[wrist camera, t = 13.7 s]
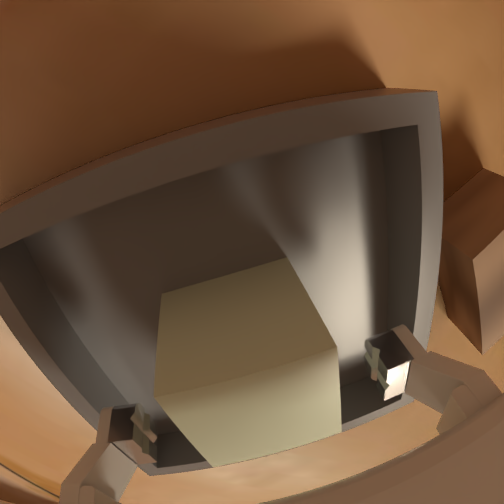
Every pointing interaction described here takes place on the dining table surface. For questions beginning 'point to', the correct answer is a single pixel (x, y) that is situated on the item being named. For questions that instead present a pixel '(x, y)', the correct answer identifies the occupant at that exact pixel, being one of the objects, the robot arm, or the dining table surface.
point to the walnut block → (475, 259)
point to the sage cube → (247, 365)
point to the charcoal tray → (230, 243)
